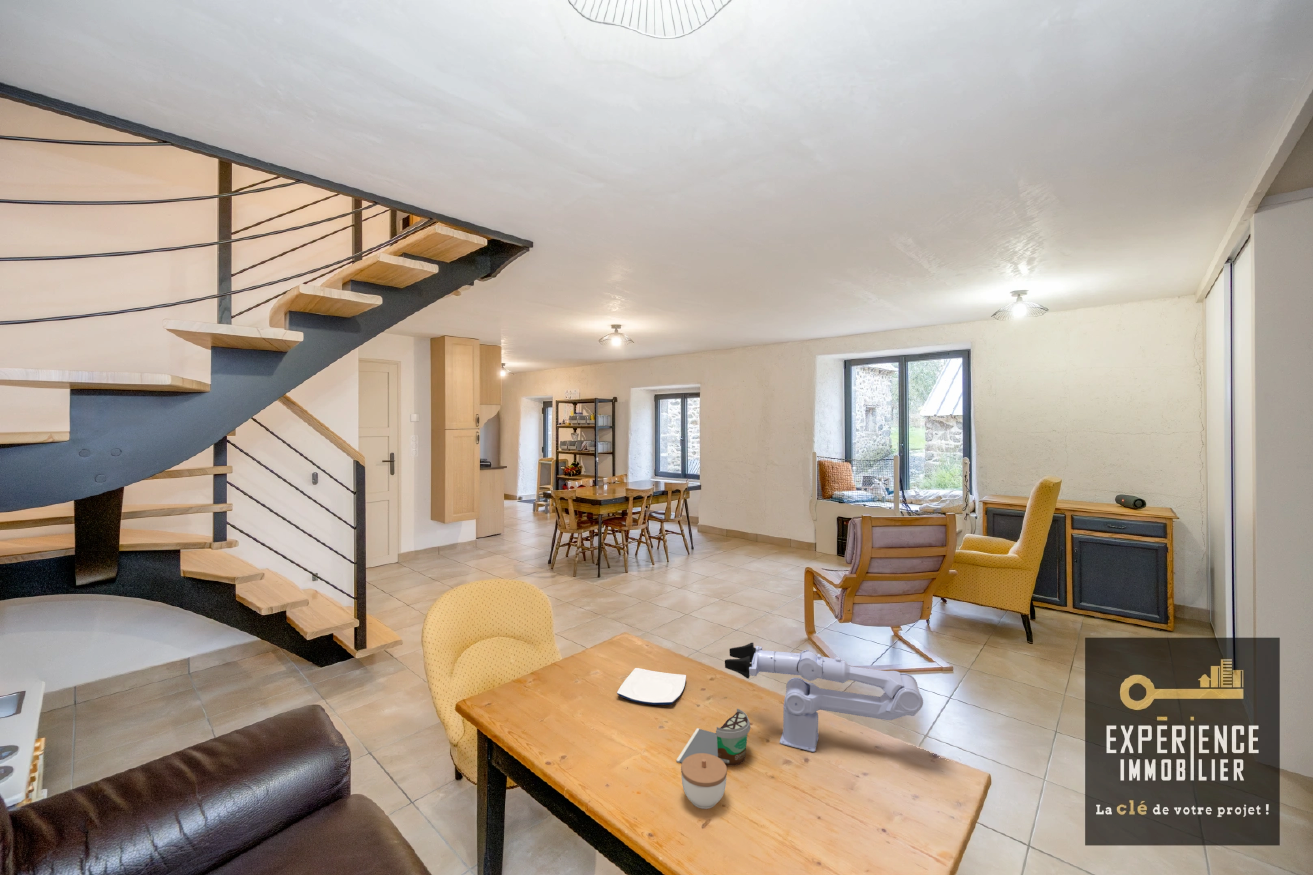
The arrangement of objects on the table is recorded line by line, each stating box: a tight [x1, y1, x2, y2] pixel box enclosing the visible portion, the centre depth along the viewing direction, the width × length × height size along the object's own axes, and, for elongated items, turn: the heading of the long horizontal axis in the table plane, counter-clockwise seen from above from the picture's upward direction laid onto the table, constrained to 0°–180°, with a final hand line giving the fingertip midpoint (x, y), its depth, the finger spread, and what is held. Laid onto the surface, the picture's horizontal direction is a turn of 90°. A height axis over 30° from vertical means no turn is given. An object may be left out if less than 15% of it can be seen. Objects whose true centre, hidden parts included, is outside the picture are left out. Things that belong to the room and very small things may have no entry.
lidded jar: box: [680, 753, 728, 810], centre depth 122 cm, size 11×11×9 cm
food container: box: [715, 708, 751, 767], centre depth 137 cm, size 12×6×10 cm, turn 144°
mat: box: [675, 727, 718, 764], centre depth 141 cm, size 10×16×1 cm, turn 156°
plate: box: [616, 667, 687, 706], centre depth 172 cm, size 20×20×3 cm
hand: (727, 657), depth 151 cm, fingers open, 7 cm apart
